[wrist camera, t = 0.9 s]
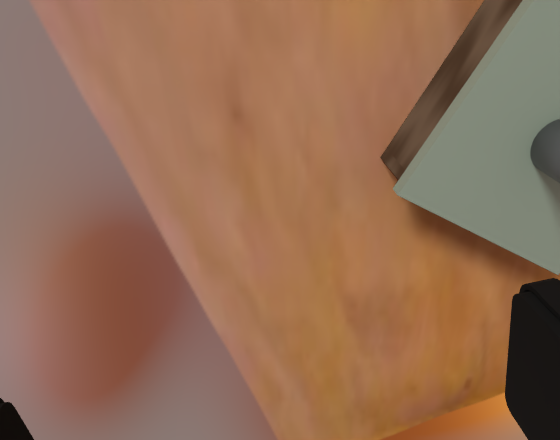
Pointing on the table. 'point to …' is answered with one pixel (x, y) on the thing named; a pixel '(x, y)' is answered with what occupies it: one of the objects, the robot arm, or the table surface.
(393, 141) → the box
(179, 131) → the table surface
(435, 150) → the lid
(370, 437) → the table surface
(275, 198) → the table surface
